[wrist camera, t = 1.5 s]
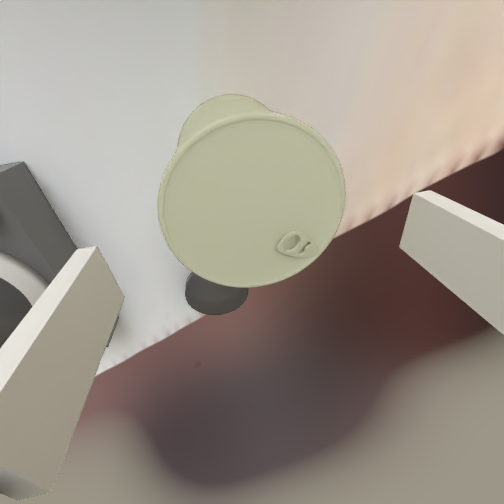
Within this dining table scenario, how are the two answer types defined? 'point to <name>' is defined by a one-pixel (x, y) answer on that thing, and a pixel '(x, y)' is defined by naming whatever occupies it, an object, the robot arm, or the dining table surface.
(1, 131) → the dining table surface
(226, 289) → the lens cap
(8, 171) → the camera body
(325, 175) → the can
